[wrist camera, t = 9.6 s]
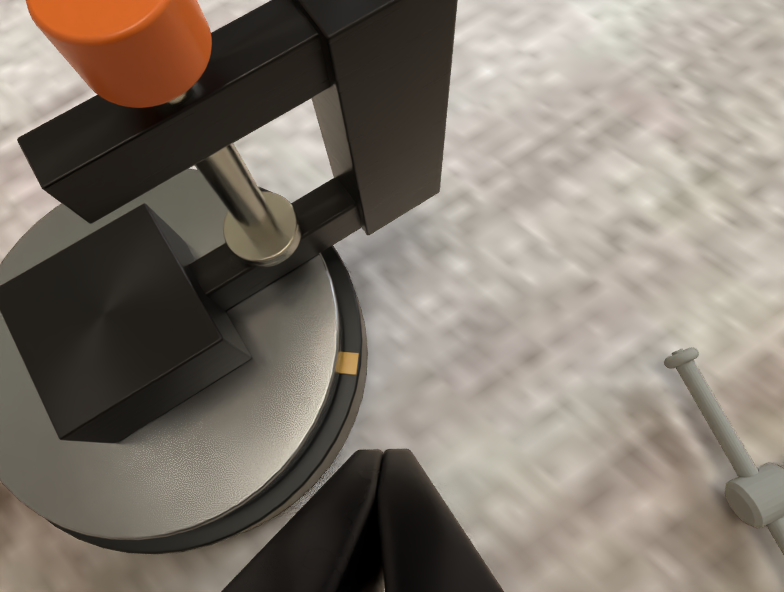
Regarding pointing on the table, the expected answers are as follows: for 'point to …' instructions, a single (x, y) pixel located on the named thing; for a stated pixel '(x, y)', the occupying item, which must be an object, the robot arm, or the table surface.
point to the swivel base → (312, 459)
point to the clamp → (736, 456)
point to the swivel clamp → (199, 249)
